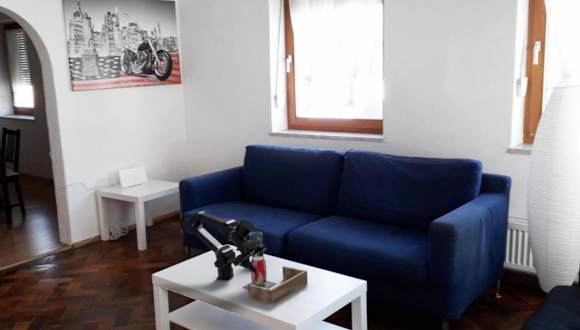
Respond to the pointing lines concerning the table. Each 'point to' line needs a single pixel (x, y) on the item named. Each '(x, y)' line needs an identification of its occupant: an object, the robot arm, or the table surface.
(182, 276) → the table surface
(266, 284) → the mat
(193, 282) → the table surface
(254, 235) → the cup
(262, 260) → the soda can
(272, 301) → the crate
